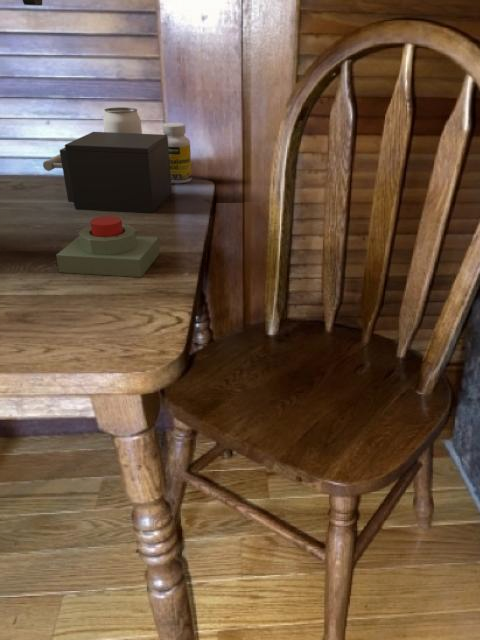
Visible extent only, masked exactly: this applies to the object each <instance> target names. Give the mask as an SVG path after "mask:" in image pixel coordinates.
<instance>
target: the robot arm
mask: <svg viewBox="0 0 480 640" xmlns="http://www.w3.org/2000/svg"><path fill="white" fill-rule="evenodd" d="M22 3H23V5H24V6H43V0H22Z"/></svg>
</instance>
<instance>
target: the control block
mask: <svg viewBox="0 0 480 640" xmlns="http://www.w3.org/2000/svg"><path fill="white" fill-rule="evenodd" d="M122 229H123V234H121V235H118V236H113V237H95V236H92V230H91V225H89V226H85V227H83V228H82V229H81V230H79V232H78V236H77V237H76V238H75V239H74V240H73V241H71V242H70V243H69V244H67V245H66V246H65V247H64V248H62V249H61V250H60V251H59V252H58V253H56V255H55V256H56V261H57V266H58V272H59V273H62V274H79V275H96V276H97V275H99V276H113V277H114V276H115V277H131V278H143V276H144V275H145V273H146V272H147V271H148V269H150V267H151V266H152V264H153V263H154V262H155V260H156V259H157V258H158V257H159V255H160V244H159V243H160V242H159V237H158V236H157V237H156V236H139V235H137V230H136V229H135V227H133V226H132V225H128V224H125V223H122Z"/></svg>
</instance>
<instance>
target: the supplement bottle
mask: <svg viewBox="0 0 480 640" xmlns="http://www.w3.org/2000/svg"><path fill="white" fill-rule="evenodd" d="M186 131H187V130H186V124H185V123H181V122H164V123H162V132H163V135H167V136H168V148H169V161H170V174H171V184H174V185H175V184H176V185H177V184H186V183H189V182H191V181H192V154H191V141H190V139H189V138H188V137H187V136H185V134H186Z"/></svg>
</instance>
